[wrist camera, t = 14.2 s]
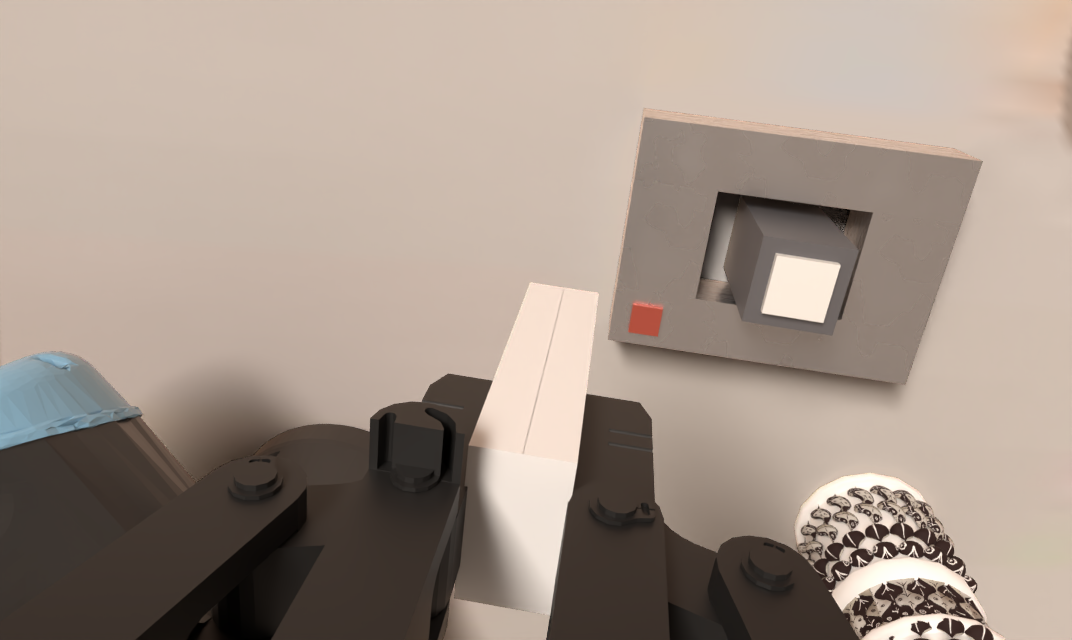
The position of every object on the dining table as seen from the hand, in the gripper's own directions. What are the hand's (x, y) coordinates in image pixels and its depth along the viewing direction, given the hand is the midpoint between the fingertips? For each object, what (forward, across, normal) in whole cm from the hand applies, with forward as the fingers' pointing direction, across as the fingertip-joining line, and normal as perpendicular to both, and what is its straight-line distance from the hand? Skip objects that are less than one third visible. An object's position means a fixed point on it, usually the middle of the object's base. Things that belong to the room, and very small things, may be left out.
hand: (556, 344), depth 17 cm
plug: (+26, -10, +4) cm, 28 cm away
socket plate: (+26, -10, +4) cm, 28 cm away
